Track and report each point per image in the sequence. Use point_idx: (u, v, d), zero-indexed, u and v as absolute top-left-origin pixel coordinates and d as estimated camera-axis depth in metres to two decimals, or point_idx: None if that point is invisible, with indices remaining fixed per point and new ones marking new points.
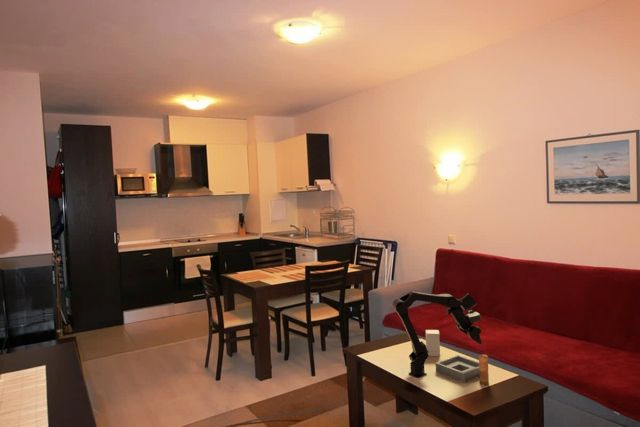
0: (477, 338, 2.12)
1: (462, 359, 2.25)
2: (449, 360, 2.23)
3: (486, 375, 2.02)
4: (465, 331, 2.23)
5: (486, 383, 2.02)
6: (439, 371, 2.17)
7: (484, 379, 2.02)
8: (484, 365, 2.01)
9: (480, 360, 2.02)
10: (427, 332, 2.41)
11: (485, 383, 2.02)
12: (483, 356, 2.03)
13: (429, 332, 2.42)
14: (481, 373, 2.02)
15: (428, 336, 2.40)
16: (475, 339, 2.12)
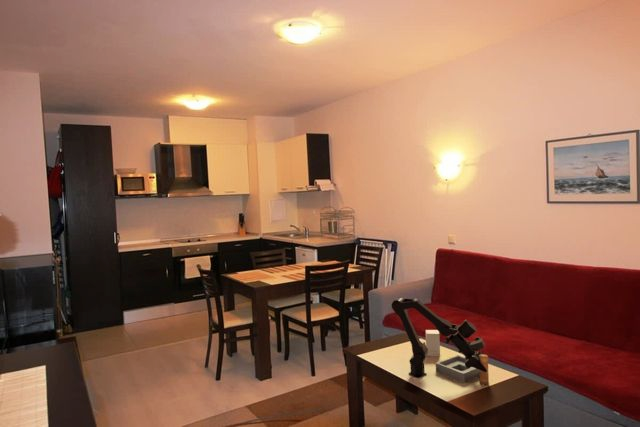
0: (479, 366, 2.01)
1: (462, 359, 2.25)
2: (449, 360, 2.23)
3: (486, 375, 2.02)
4: None
5: (486, 383, 2.02)
6: (439, 371, 2.17)
7: (484, 379, 2.02)
8: (484, 365, 2.01)
9: (480, 360, 2.02)
10: (427, 332, 2.41)
11: (485, 383, 2.02)
12: (483, 356, 2.03)
13: (429, 332, 2.42)
14: (481, 373, 2.02)
15: (428, 336, 2.40)
16: (477, 367, 2.01)
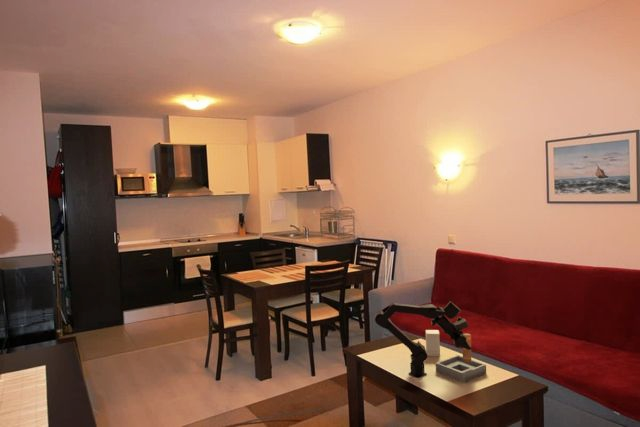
0: (464, 344, 2.10)
1: (462, 359, 2.25)
2: (449, 360, 2.23)
3: (470, 353, 2.11)
4: None
5: (470, 360, 2.11)
6: (439, 371, 2.17)
7: (468, 357, 2.11)
8: (468, 343, 2.11)
9: None
10: (427, 332, 2.41)
11: (469, 360, 2.11)
12: (467, 335, 2.12)
13: (429, 332, 2.42)
14: (465, 351, 2.11)
15: (428, 336, 2.40)
16: (462, 345, 2.10)
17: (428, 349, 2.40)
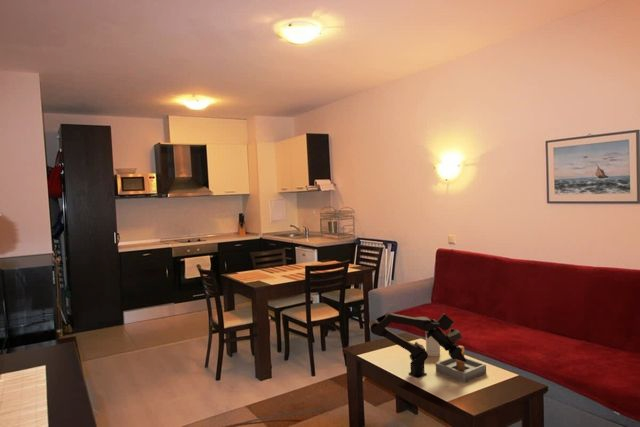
0: (460, 357, 2.11)
1: None
2: (449, 360, 2.23)
3: (463, 364, 2.15)
4: None
5: None
6: (439, 371, 2.17)
7: (462, 369, 2.14)
8: None
9: None
10: None
11: None
12: (460, 347, 2.15)
13: None
14: (459, 363, 2.15)
15: None
16: (458, 358, 2.11)
17: (428, 349, 2.40)
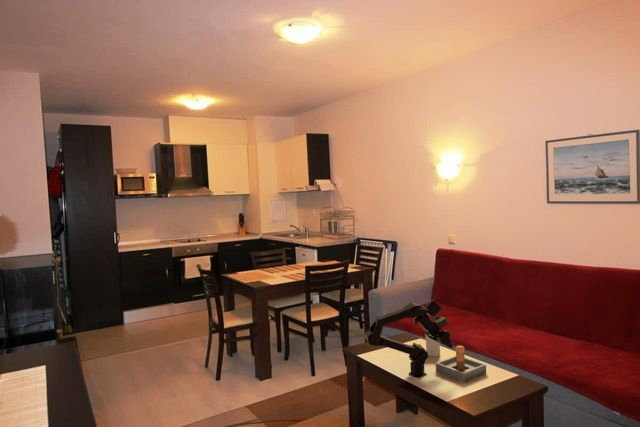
0: (448, 342, 2.12)
1: None
2: (449, 360, 2.23)
3: (463, 364, 2.15)
4: (435, 338, 2.22)
5: None
6: (439, 371, 2.17)
7: (462, 369, 2.14)
8: (462, 355, 2.14)
9: (458, 351, 2.15)
10: None
11: None
12: (460, 347, 2.15)
13: None
14: (459, 363, 2.15)
15: None
16: (446, 344, 2.11)
17: (428, 349, 2.40)
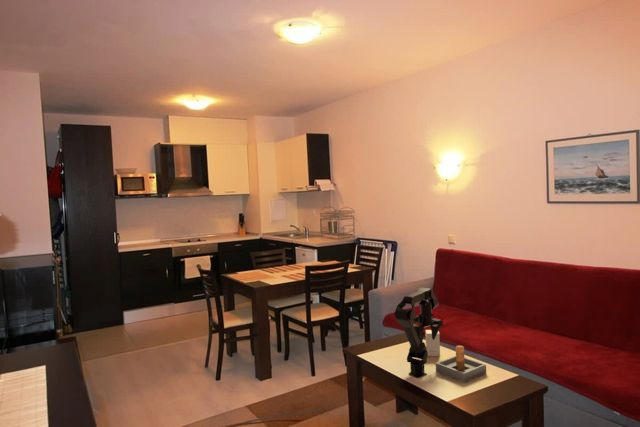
0: None
1: None
2: (449, 360, 2.23)
3: (463, 364, 2.15)
4: None
5: None
6: (439, 371, 2.17)
7: (462, 368, 2.14)
8: (462, 355, 2.14)
9: (458, 351, 2.15)
10: (427, 332, 2.41)
11: None
12: (460, 347, 2.15)
13: (429, 332, 2.42)
14: (459, 363, 2.15)
15: (428, 336, 2.40)
16: None
17: (428, 349, 2.40)
